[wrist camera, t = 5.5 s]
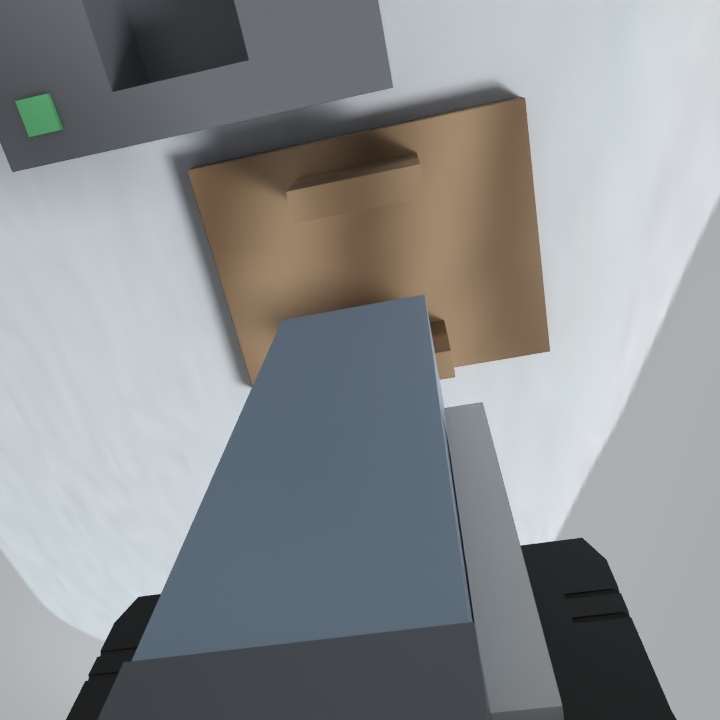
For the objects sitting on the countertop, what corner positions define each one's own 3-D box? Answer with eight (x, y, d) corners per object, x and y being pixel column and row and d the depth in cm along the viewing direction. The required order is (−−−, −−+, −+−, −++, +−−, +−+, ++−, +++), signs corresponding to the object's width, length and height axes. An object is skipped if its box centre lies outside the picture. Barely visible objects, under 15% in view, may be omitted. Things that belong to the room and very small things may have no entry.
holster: (520, 96, 26) (544, 101, 22) (545, 342, 31) (568, 384, 27) (193, 167, 28) (160, 183, 24) (260, 391, 32) (241, 437, 28)
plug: (426, 292, 15) (507, 852, 4) (457, 471, 17) (565, 1161, 6) (279, 318, 16) (20, 885, 5) (326, 490, 18) (218, 1164, 7)
